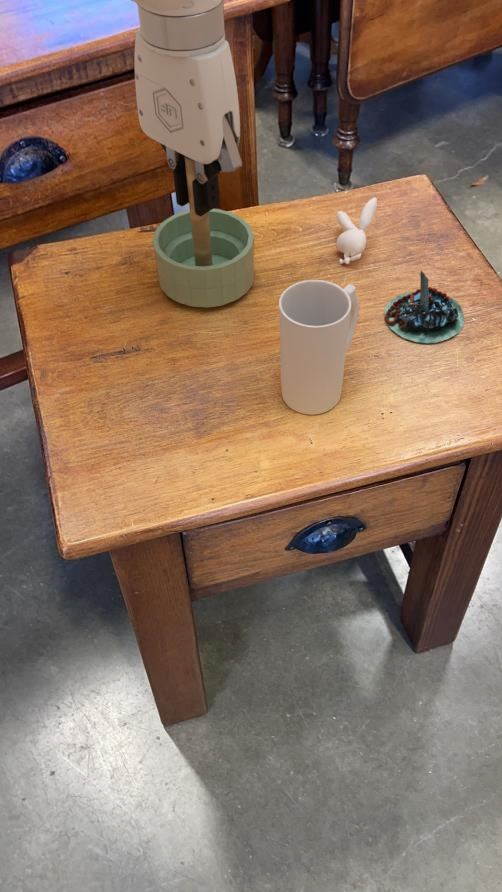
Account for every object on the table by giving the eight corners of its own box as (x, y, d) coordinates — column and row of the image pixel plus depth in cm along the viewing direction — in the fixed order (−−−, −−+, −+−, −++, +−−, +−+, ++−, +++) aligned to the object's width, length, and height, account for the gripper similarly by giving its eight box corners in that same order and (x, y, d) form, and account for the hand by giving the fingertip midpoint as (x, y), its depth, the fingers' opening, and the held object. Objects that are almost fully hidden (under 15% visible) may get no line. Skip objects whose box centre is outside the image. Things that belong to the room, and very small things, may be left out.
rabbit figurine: (320, 263, 100) (330, 202, 101) (339, 277, 103) (349, 218, 104) (360, 253, 96) (370, 190, 97) (379, 268, 99) (388, 207, 100)
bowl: (208, 326, 93) (204, 283, 88) (139, 284, 97) (132, 240, 92) (274, 278, 98) (273, 234, 93) (205, 240, 102) (202, 196, 97)
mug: (312, 427, 84) (317, 337, 74) (265, 394, 87) (263, 303, 77) (376, 377, 88) (388, 286, 79) (329, 346, 91) (335, 255, 81)
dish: (420, 336, 88) (421, 266, 89) (376, 348, 94) (377, 282, 94) (473, 347, 93) (473, 280, 93) (428, 357, 99) (428, 294, 99)
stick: (204, 277, 94) (194, 163, 83) (192, 270, 95) (180, 155, 84) (216, 268, 95) (208, 154, 84) (204, 261, 96) (194, 147, 85)
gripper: (90, 8, 75) (121, 192, 90) (218, 64, 69) (229, 251, 84) (149, -19, 78) (170, 163, 93) (277, 33, 72) (277, 218, 87)
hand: (198, 203), depth 88 cm, fingers closed on stick, 2 cm apart
